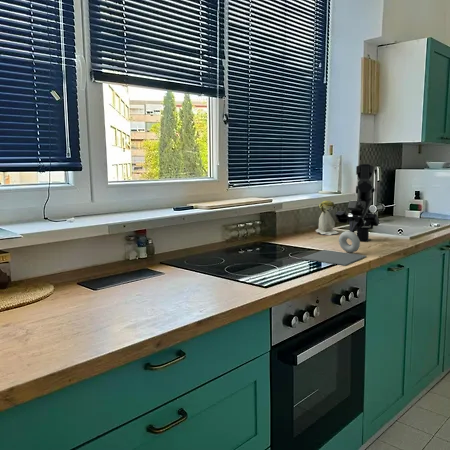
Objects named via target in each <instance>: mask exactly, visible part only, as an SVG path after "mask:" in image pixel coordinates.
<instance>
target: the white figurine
mask: <svg viewBox="0 0 450 450" xmlns="http://www.w3.org/2000/svg"><path fill="white" fill-rule="evenodd" d="M318 208H319V209H320V211H321V213H320V216H319V218H318V228H317V229H315V232H316V233H317V234H318V233H319V234H321V235H326V236H332V235H336V234H340V232H339V231H336V229H334V228H335V227H336V221H335V220H334V217H332V214H331V213H330V211H332V210H335V209H336V208H337V205H335V203H334V202H333V201H331V200H323V201H321V202H320V203H319V204H318Z"/></svg>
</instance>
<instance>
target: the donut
mask: <svg viewBox="0 0 450 450" xmlns="http://www.w3.org/2000/svg"><path fill="white" fill-rule="evenodd" d="M348 239H349V240H350V241H351V244H349V243H348V241H347V240H348ZM338 244H339V245H340V248H341V250H343V251H344V252H345V253H351V254H354V253H355V252H357V251H358V250H359V248H360V247H361V241H360V240H359V238H358V236H357V233H355V232H354V233H353V232H351V231H350V230H345V231H342V233H340V235H339V237H338Z"/></svg>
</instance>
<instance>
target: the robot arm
mask: <svg viewBox="0 0 450 450" xmlns="http://www.w3.org/2000/svg"><path fill="white" fill-rule="evenodd" d="M355 167H356V168H355V169H356V170H355V175H357V180H358V181H357V185H356V186H355V194H357V197H358V199H357V201H356V200H355V201H354V200H353V201H352V200H349V202H348V205H347V209H348V210H349V213H348V214H347V212H346V211H343V210H342V211H341V210H337V211H336V213H335V218H336V219H337V221H338V223H340V224H347V223H348V224H349V231H351V232H353V233H355V232H356V235H357V236H358V238H359V240H360V242H369V241H371V240H372V238H369V234H370V233H369V231H370V230H372V229H374V227H378V226H379V224H380V219H379V218H378V215H377V213H371V211H370V208H369V207H370V205H371V203H372V198H371V197H372V194H374V193H375V191H376V189H375V186H373V184H372V181H371V180H372V175H374V166H373V165H371V164H370V163H361V164H359V165H356V166H355Z"/></svg>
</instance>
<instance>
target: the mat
mask: <svg viewBox="0 0 450 450" xmlns="http://www.w3.org/2000/svg"><path fill="white" fill-rule="evenodd" d="M365 258H367V255H363V254H357V253H350V252H345V251H344V252H343V251H336V250H330V249H329V250H328V249H323V250H319V251H317V252H314V253H311V254H308V255H305V256H302V257H300V259H301V260H307V261H312V262H317V261H318V262H317V263H324V262H326V263H325V264H330V263H333V264H332V265H336V264H337V266H343V267H346V266H349V265H351V264H353V263H356V262H358V261H360V260H362V259H365Z"/></svg>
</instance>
